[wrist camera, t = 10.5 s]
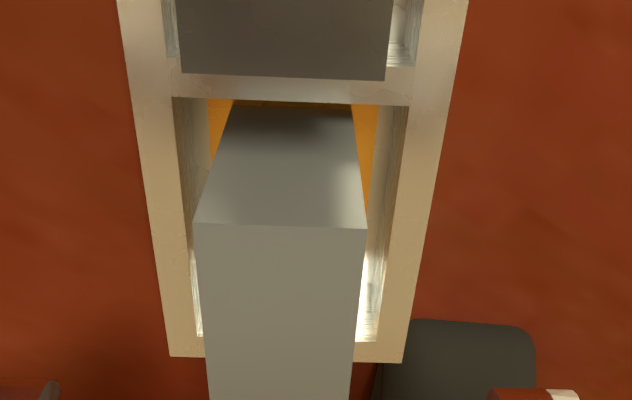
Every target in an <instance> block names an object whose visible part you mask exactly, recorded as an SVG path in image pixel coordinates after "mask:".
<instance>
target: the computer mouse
mask: <svg viewBox="0 0 632 400" xmlns="http://www.w3.org/2000/svg"><path fill="white" fill-rule="evenodd" d="M492 388H536V353H535V347H534V344H533V342H532V339H531V337H530V336H529V335H528V334H527V333H526V332H525V331H524V330H522V329H520V328H517V327H513V326H506V325H494V324H482V323H470V322H457V321H445V320H433V319H414V320H410V321H409V326H408V331H407V337H406V342H405V348H404V353H403V358H402V363H378V367H377V372H376V376H375V381H374V385H373V389H372V394H371V398H370V400H486V397H487V394H488V392H489V391H490V390H491V389H492Z"/></svg>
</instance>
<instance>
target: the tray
mask: <svg viewBox="0 0 632 400" xmlns="http://www.w3.org/2000/svg"><path fill="white" fill-rule="evenodd" d="M116 1H117V7H118V14H119V21H120V27H121V34H122V41H123V47H124V54H125V61H126V67H127V74H128V81H129V87H130V94H131V101H132V107H133V114H134V121H135V127H136V134H137V141H138V147H139V154H140V160H141V167H142V174H143V180H144V187H145V194H146V200H147V207H148V214H149V220H150V227H151V234H152V240H153V247H154V254H155V260H156V267H157V274H158V280H159V287H160V293H161V300H162V307H163V313H164V320H165V327H166V333H167V340H168V347H169V353H170V356H173V357H205V348H204V338H203V328H202V318H201V308H200V298H199V288H198V278H197V268H196V258H195V248H194V238H193V228H192V222H193V219H194V216H195V213H196V210H197V207H198V204H199V201H200V198H201V195H202V192H203V189H204V186H205V183H206V180H207V177H208V174H209V171H210V168H211V166H212V163H213V160H214V157H215V154H216V151H217V148H218V145H219V142H220V139H221V136H222V133H223V130H224V127H225V124H226V121H227V118H228V115H229V112H230V109H231V107H232V105H246V106H272V107H297V108H323V109H348V110H352V115H353V123H354V130H355V138H356V145H357V152H358V160H359V167H360V175H361V182H362V190H363V197H364V205H365V212H366V220H367V227H368V231H367V240H366V249H365V258H364V267H363V275H362V284H361V293H360V302H359V311H358V319H357V328H356V337H355V346H354V355H353V362H374V363H402V358H403V353H404V348H405V342H406V337H407V331H408V326H409V321H410V315H411V310H412V304H413V299H414V294H415V288H416V283H417V277H418V272H419V267H420V261H421V256H422V250H423V245H424V240H425V234H426V229H427V223H428V218H429V213H430V207H431V202H432V196H433V191H434V186H435V180H436V175H437V169H438V164H439V159H440V153H441V148H442V142H443V137H444V132H445V126H446V121H447V115H448V110H449V104H450V99H451V94H452V88H453V83H454V77H455V72H456V67H457V61H458V56H459V50H460V45H461V40H462V34H463V29H464V23H465V18H466V13H467V7H468V2H469V0H116Z"/></svg>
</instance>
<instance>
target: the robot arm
mask: <svg viewBox="0 0 632 400" xmlns="http://www.w3.org/2000/svg"><path fill="white" fill-rule="evenodd" d="M60 393H61V389H60V387H59V385H58V382H57V380H37V379H11V378H0V400H58V398H59V396H60ZM486 400H580V399H579V397H578V395H577V394H576V393H575V392H574V391H573V390H569V389H542V388H492V389H491V390H490V391H489V392H488V394H487V397H486Z"/></svg>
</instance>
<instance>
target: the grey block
mask: <svg viewBox="0 0 632 400" xmlns="http://www.w3.org/2000/svg"><path fill="white" fill-rule="evenodd" d="M192 228H193V238H194V248H195V258H196V268H197V278H198V288H199V298H200V308H201V318H202V328H203V338H204V348H205V358H206V368H207V378H208V388H209V398H210V400H348V399H349V390H350V381H351V372H352V363H353V355H354V346H355V337H356V328H357V319H358V311H359V302H360V293H361V284H362V275H363V267H364V258H365V249H366V240H367V231H368V227H367V220H366V212H365V205H364V197H363V190H362V182H361V175H360V167H359V160H358V152H357V145H356V138H355V130H354V123H353V115H352V110H348V109H323V108H297V107H272V106H246V105H232V107H231V109H230V112H229V115H228V118H227V121H226V124H225V127H224V130H223V133H222V136H221V139H220V142H219V145H218V148H217V151H216V154H215V157H214V160H213V163H212V166H211V168H210V171H209V174H208V177H207V180H206V183H205V186H204V189H203V192H202V195H201V198H200V201H199V204H198V207H197V210H196V213H195V216H194V219H193V222H192Z"/></svg>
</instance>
